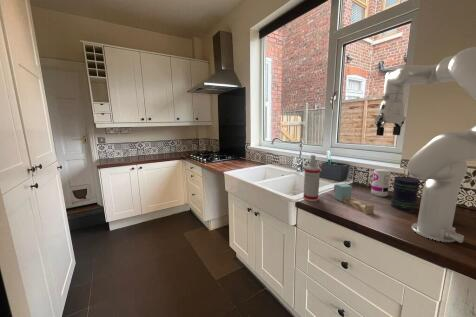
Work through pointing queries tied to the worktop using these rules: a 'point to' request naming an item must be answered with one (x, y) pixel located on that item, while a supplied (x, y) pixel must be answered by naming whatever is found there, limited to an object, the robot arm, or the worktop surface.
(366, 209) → the rail
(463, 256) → the worktop surface
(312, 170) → the spray bottle
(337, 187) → the block
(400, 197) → the storage jar
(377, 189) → the supplement can
